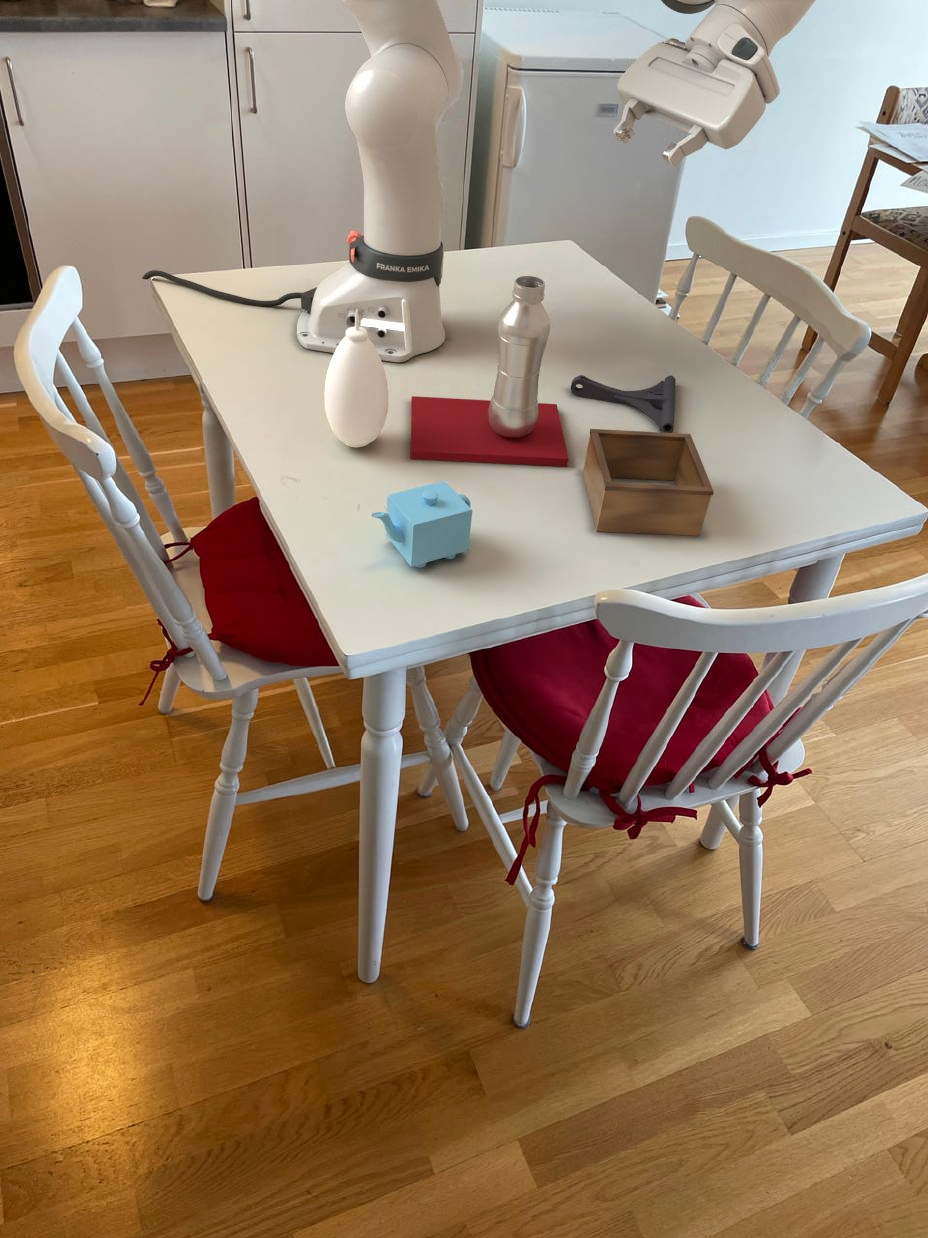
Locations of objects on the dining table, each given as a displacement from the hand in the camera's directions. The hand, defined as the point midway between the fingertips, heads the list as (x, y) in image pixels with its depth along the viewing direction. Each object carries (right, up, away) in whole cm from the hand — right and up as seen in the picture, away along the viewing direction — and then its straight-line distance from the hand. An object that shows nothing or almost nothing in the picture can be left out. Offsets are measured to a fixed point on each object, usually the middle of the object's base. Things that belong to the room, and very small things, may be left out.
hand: (642, 149), depth 117 cm
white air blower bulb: (-36, -35, +6) cm, 50 cm away
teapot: (-27, -50, -10) cm, 58 cm away
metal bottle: (-16, -33, +9) cm, 37 cm away
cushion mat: (-19, -33, +10) cm, 39 cm away
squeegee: (+1, -26, +20) cm, 33 cm away
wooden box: (0, -43, +1) cm, 43 cm away
